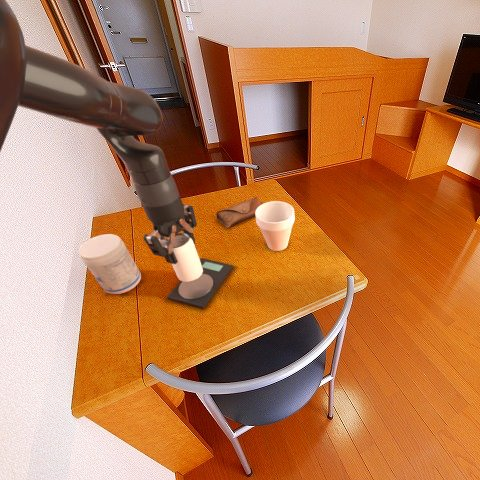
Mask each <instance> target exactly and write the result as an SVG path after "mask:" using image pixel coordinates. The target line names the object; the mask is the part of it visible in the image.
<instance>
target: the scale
mask: <svg viewBox="0 0 480 480" xmlns="http://www.w3.org/2000/svg"><path fill="white" fill-rule="evenodd" d="M199 259H200V262H201V265H202V268H203V273H202V274H201V276H200V277H199V278H198V279H196V280H194V281H191V282H183V281H181V280H179V282H178V284H177V285H176V286H175V287H174V288H173V289H172V290H171V292H169V294H168V295H167V296H166V299H167V300H168V301H172V302H175V303H178V304H182V305H186V306H190V307H193V308H197V309H201V310H204V309H205V308H206V306H207V305H208V303H209V302H210V301H211V300H212V298H213V296H214V295H215V294H216V292H218V290H219V288H220V287H221V286H222V284H223V283H224V281H225V280H226V279H227V278H228V276H229V274H230V273H231V272H232V270H233V269H234V265H232V264H229V263H224V262H220V261H217V260H216V261H215V260H211V259H207V258H203V257H200V258H199Z"/></svg>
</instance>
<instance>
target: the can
mask: <svg viewBox="0 0 480 480" xmlns="http://www.w3.org/2000/svg"><path fill="white" fill-rule="evenodd" d="M166 239H169V237H166ZM165 248H167V244H165ZM173 252H174V254H175V256H176V258H177V261H178V262H177V263H176V264H172V263H170V264H171V266H172V268H173V270H174V273H175V274H176V277H177V279H178V280H179V281H183V282H191V281H194V280H196V279H198V278H199V277H200V276H201V274H202V273H203V268H202V265H201V262H200V259H201V258H200V256H199V254H198V251H197V249H196V244H194V243H193V240H192V239H191V238H190V237H189V235H188V234H186V233H184V232H179V233H178V234H177V235H176V236H175V243H174V244H173Z"/></svg>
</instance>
